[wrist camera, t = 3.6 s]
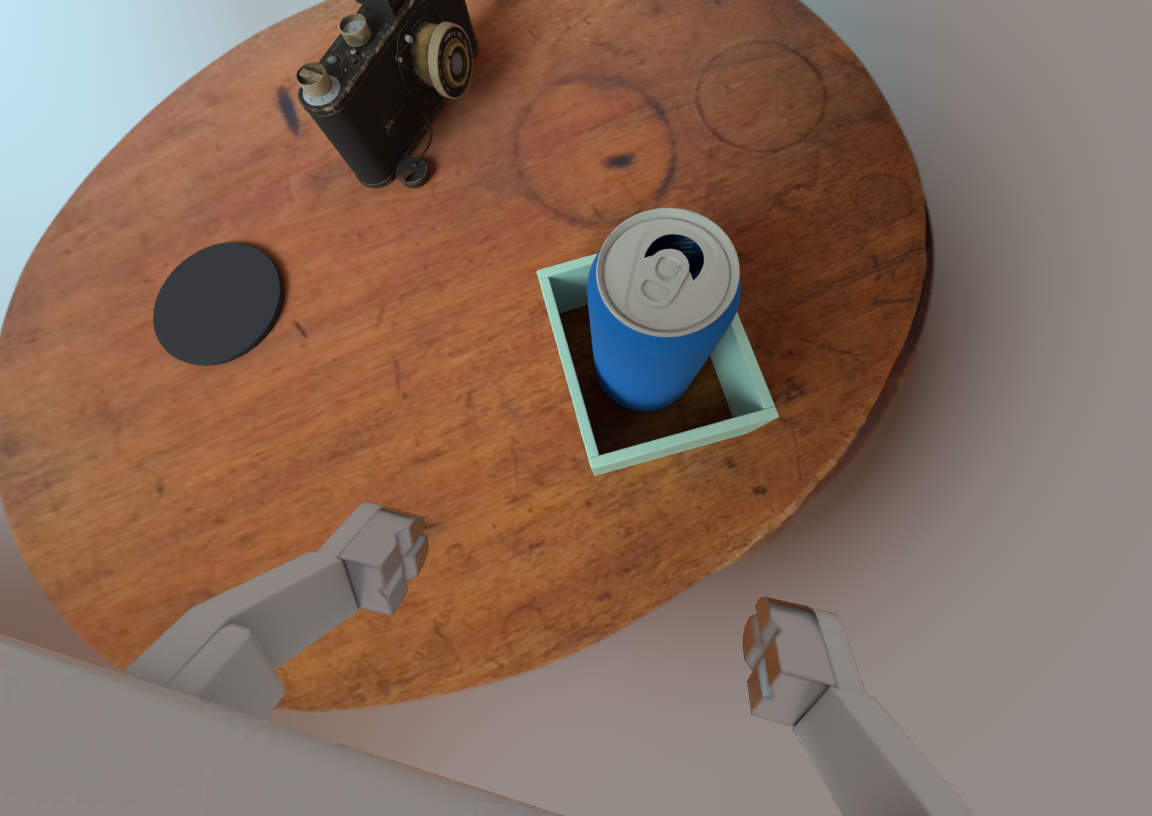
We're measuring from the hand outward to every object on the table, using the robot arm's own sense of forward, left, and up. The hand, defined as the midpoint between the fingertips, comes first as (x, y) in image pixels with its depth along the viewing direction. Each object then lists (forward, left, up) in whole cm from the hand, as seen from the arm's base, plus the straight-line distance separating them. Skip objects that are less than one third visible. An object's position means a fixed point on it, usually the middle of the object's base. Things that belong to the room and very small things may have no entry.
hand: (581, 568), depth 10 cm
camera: (+35, +4, -17) cm, 39 cm away
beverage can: (+9, -6, -17) cm, 20 cm away
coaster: (+23, +23, -16) cm, 37 cm away
